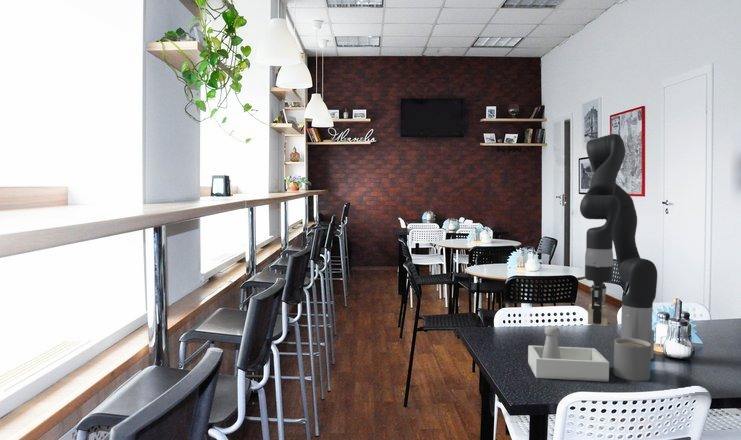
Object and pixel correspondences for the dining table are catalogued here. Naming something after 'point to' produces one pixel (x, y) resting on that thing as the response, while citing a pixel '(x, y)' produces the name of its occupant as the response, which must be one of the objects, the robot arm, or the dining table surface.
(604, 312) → the beech cube
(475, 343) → the dining table surface
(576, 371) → the tray
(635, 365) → the coffee mug
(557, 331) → the salt shaker
